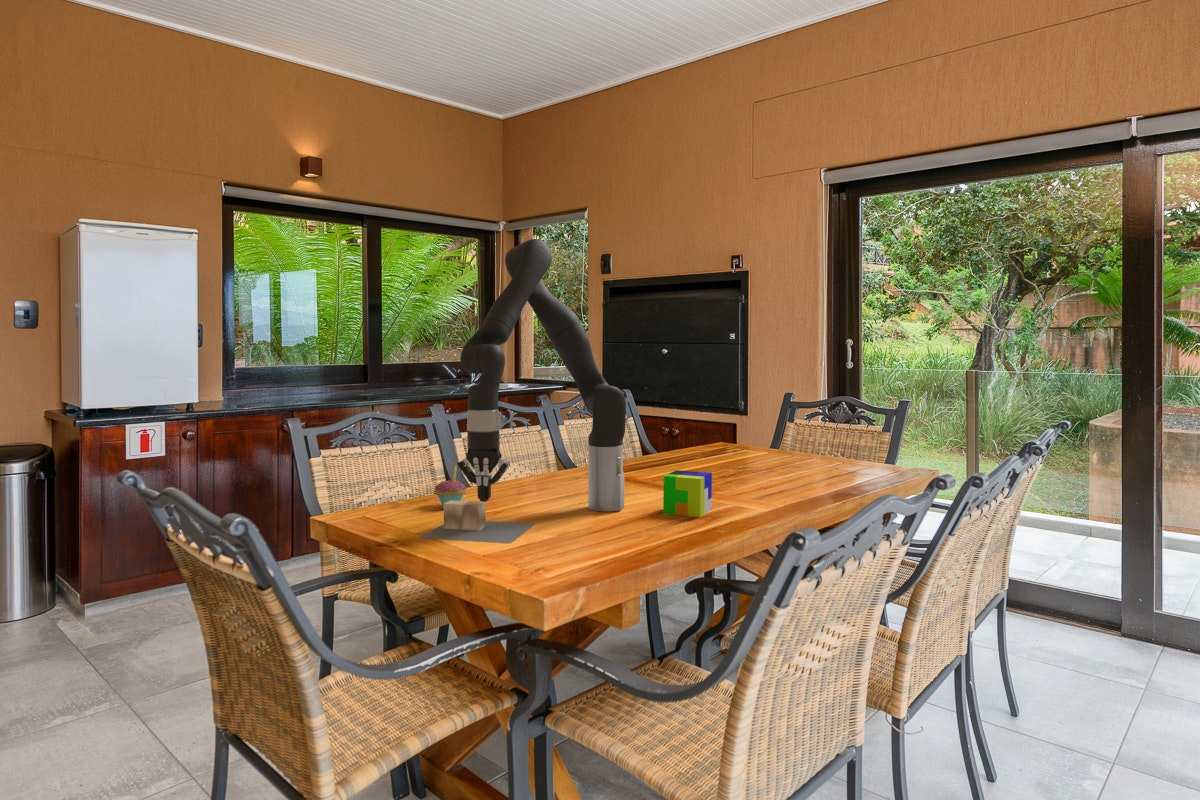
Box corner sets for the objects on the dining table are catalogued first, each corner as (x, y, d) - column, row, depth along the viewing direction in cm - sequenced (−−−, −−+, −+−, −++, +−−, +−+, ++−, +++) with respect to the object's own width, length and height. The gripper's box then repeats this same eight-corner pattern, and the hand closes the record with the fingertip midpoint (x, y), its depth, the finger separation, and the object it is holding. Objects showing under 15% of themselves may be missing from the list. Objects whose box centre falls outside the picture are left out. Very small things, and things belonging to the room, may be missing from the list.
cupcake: (472, 504, 212) (471, 461, 211) (456, 510, 204) (455, 465, 203) (444, 502, 215) (444, 459, 214) (428, 508, 207) (427, 464, 206)
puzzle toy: (711, 509, 205) (711, 472, 204) (700, 517, 196) (700, 478, 195) (676, 506, 209) (676, 470, 208) (663, 513, 200) (663, 476, 199)
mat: (535, 524, 188) (535, 523, 188) (510, 544, 169) (510, 543, 169) (451, 520, 193) (451, 519, 193) (418, 539, 174) (418, 537, 174)
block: (485, 501, 185) (450, 500, 186) (479, 505, 181) (443, 503, 182) (485, 526, 185) (450, 524, 187) (479, 530, 181) (443, 528, 183)
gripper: (515, 427, 183) (515, 498, 185) (463, 426, 186) (464, 496, 187) (504, 431, 176) (505, 505, 177) (450, 429, 179) (451, 502, 180)
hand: (484, 500), depth 182 cm, fingers closed
